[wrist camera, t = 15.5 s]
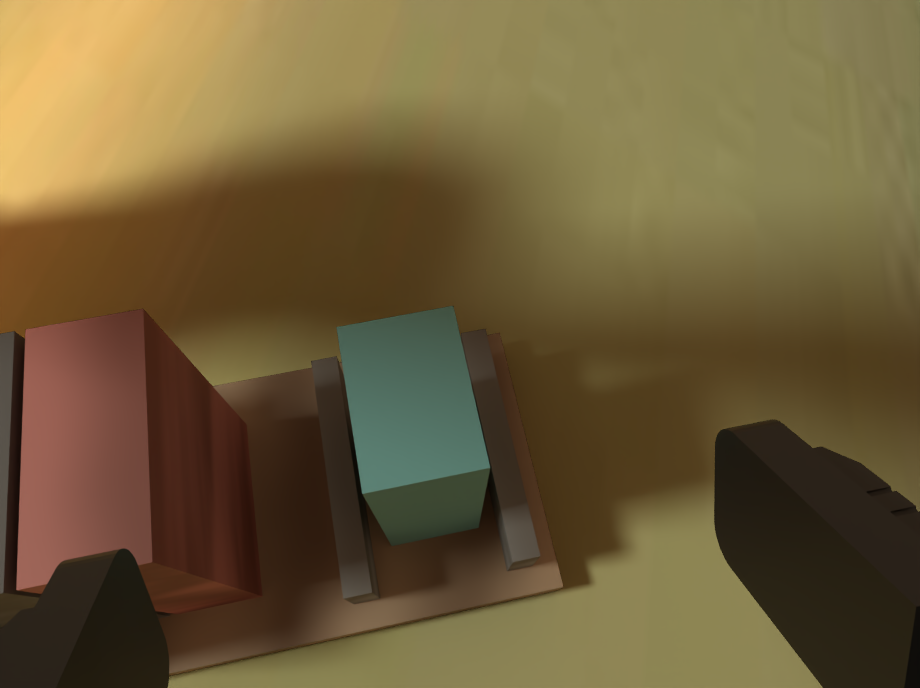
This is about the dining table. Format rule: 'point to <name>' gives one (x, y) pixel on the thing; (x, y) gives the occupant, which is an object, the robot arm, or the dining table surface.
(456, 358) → the teal block
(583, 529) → the dining table surface
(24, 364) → the book rack
